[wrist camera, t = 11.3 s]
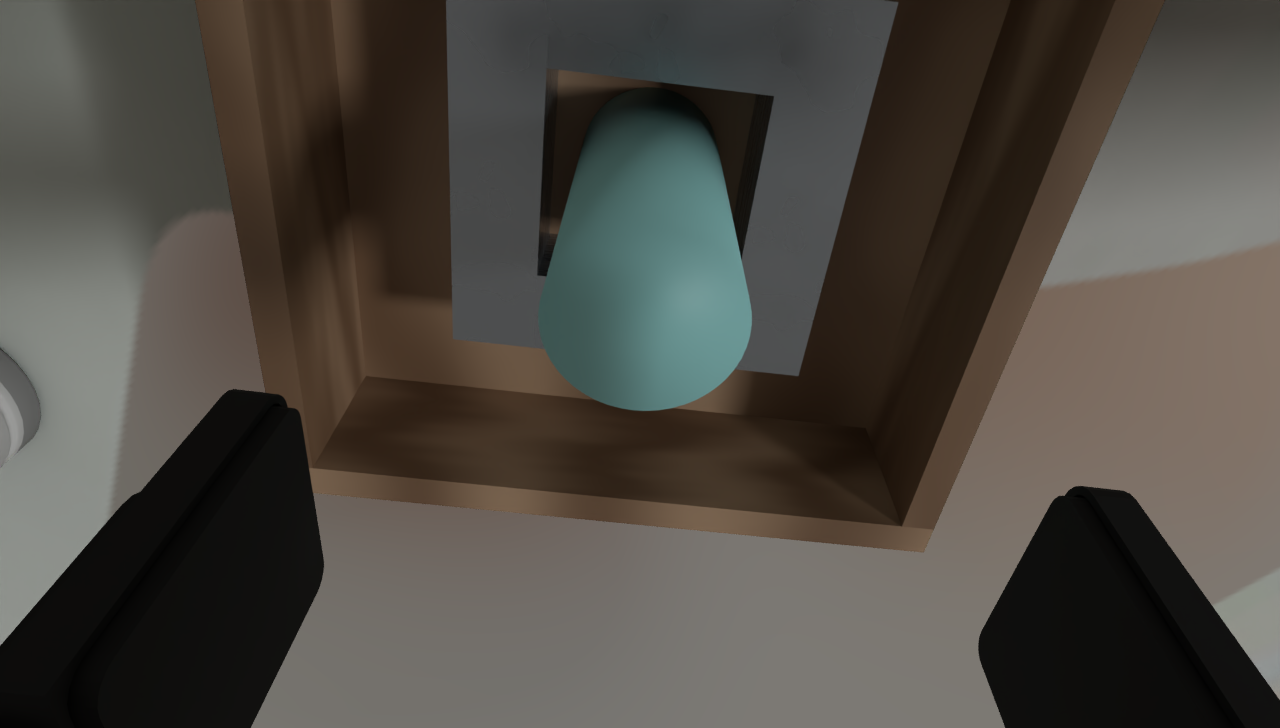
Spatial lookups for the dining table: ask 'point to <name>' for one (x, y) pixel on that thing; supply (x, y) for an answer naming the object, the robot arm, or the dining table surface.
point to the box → (863, 248)
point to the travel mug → (16, 409)
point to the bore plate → (670, 53)
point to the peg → (646, 260)
